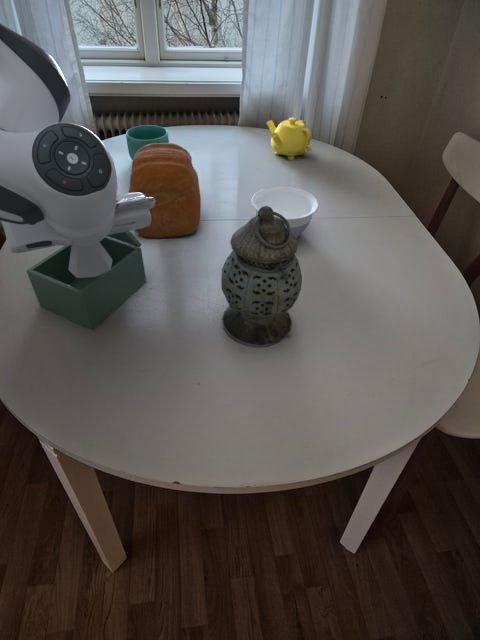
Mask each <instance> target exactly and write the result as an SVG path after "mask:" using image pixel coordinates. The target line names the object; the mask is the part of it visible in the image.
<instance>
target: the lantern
mask: <svg viewBox="0 0 480 640" xmlns="http://www.w3.org/2000/svg"><path fill="white" fill-rule="evenodd" d="M274 215H275V216H277V217H275V216H274ZM278 217H279V218H280V219H279V218H278ZM284 223H285V224H284ZM285 225H286V226H285ZM286 227H287V228H286ZM230 246H231V250H232V251H231V252H230V253H229V255H228V256H227V257H226V259H225V261H224V264H223V265H222V268H221V276H220V277H221V280H220V281H221V282H220V283H221V291H222V294H223V295H224V298H225V299H226V301H227V303H228V307H227V308H226V309H225V310H224V311H223V314H222V317H221V324H222V327H223V328H222V329H223V330H224V332H225V333H226V335H227V336H228V337H229V338H230V339H232V340H233V341H234V342H236V343H238V344H241V345H244V346H246V347H253V348H266V347H271V346H273V345H275V344H278V343H279V342H280V343H281V341H283V340H284V339H285V338H287V337H288V336H289V333H290V331H291V328H292V318H291V316H290V313H289V312H288V311H289V310H290V309H292V308H293V307H294V305H295V304H296V302H297V301H298V299H299V296H300V294H301V290H302V284H303V276H302V275H303V274H302V270H301V265H300V261H299V259H298V257H297V256H296V253H297V252H298V242H297V239H295V237H294V236H293V235H292V234H291V228H290V225H289V223H288V221H287V220H286V219H285V218H284V217H283V216H282V215H281V214H279V213H276V212H274V211H273V210H272V208H271V207H269V206H263V207H261V208H260V209H259V211H258V216H256V215H255V216H253V217H252V218H250V219H249V220H248V221H247V222H246V223H245V224H244V225H242V226H240V227H239V228H238V229H236V231H234V233H233V234H232V236H231V238H230Z"/></svg>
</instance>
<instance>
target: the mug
mask: <svg viewBox="0 0 480 640" xmlns="http://www.w3.org/2000/svg"><path fill="white" fill-rule="evenodd" d="M125 137H126V138H125V139H126V145H127V151H128V155H129V157H130V159H131V161H133V158H134V155H135V153H136V152H137V151H138V150H139V149H141V148H142V147H143V146H145V145H148V144H152V143H170V139H169V131H168V129H167V128H165V127H163V126H160V125H154V124H143V125H137V126H133V127H129V129H127V131H126V132H125Z"/></svg>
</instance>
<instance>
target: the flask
mask: <svg viewBox="0 0 480 640" xmlns="http://www.w3.org/2000/svg"><path fill="white" fill-rule="evenodd" d="M111 265H112V259H111V257H110V256H109V254H108V253H107V252H106V250H105V249H104V247H103V246H102V245H101V243H100V242H98V243H95V244H93V245H89V246H75V245H71V254H70V261H69V271H70V272H71V273H72V274H73V275H74V276H75V277H77V278H85V277H96V276H99V275H101V274H103V273H105V272H107V271H110V270H111Z"/></svg>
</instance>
